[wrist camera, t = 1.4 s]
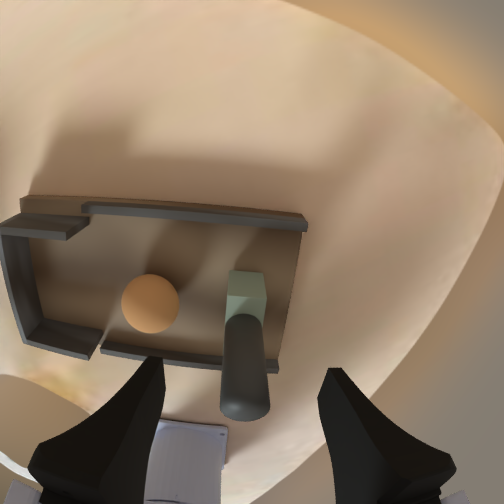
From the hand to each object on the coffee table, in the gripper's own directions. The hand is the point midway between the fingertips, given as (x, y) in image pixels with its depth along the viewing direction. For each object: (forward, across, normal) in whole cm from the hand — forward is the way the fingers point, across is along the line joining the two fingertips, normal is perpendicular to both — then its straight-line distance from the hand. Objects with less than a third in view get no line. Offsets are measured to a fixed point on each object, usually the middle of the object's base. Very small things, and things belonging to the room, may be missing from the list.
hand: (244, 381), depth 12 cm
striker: (+7, 0, 0) cm, 7 cm away
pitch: (+8, +6, 0) cm, 11 cm away
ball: (+6, +6, 0) cm, 8 cm away
